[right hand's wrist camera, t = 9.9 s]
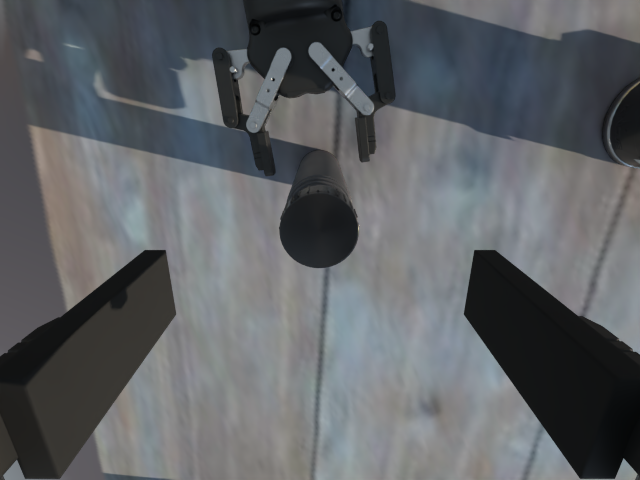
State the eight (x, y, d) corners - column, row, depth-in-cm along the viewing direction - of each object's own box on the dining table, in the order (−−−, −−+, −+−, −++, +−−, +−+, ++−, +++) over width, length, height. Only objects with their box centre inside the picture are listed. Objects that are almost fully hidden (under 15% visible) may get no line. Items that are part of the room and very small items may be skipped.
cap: (315, 268, 22) (315, 283, 20) (266, 217, 21) (261, 228, 19) (371, 224, 21) (376, 236, 19) (322, 168, 20) (323, 174, 18)
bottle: (317, 199, 39) (315, 281, 20) (290, 168, 38) (261, 226, 19) (348, 172, 38) (376, 233, 19) (321, 141, 37) (323, 172, 18)
